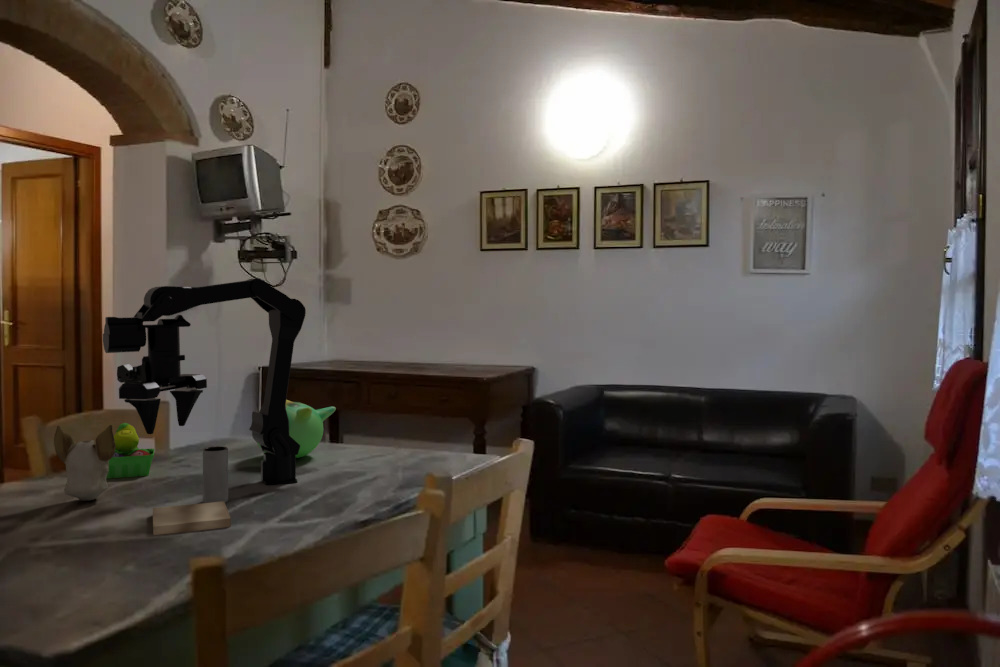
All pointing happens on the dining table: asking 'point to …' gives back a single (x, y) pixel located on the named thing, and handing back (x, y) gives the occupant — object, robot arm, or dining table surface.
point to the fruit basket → (129, 455)
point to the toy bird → (306, 425)
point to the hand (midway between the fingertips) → (166, 429)
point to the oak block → (190, 518)
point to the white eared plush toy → (85, 463)
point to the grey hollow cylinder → (215, 474)
